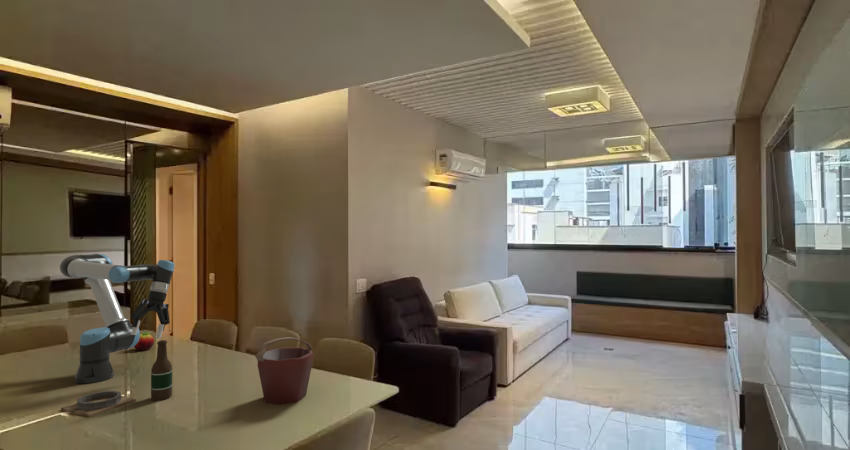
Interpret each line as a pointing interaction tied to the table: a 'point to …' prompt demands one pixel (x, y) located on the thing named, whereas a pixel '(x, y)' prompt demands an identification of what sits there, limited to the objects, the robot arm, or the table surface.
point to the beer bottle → (161, 374)
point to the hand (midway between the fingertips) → (146, 336)
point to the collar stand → (98, 403)
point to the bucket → (284, 372)
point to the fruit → (144, 342)
